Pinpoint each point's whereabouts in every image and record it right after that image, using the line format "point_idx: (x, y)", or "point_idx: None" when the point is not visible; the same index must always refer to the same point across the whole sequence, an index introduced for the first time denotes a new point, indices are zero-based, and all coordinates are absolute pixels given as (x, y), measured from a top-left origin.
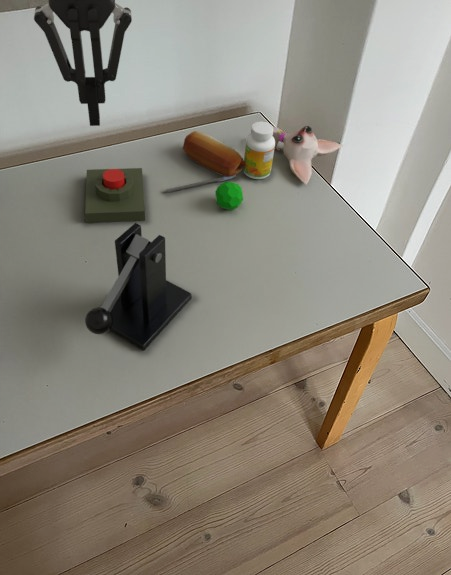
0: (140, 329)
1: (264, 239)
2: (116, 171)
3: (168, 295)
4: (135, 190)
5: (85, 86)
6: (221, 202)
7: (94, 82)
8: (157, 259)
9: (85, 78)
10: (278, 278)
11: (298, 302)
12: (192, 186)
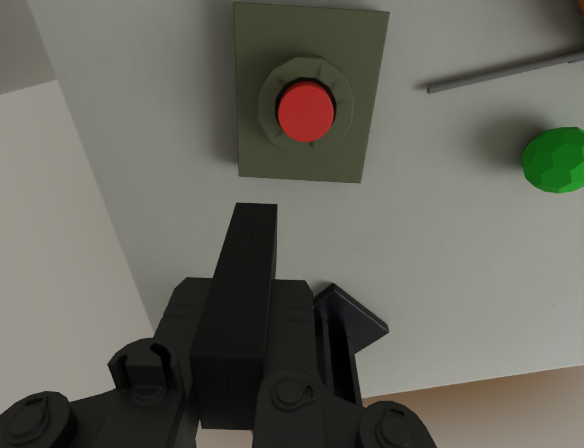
0: None
1: (552, 242)
2: (315, 99)
3: (357, 331)
4: (353, 114)
5: (201, 425)
6: (529, 180)
7: (253, 400)
8: None
9: (191, 414)
10: (522, 310)
11: (522, 343)
12: (495, 77)
